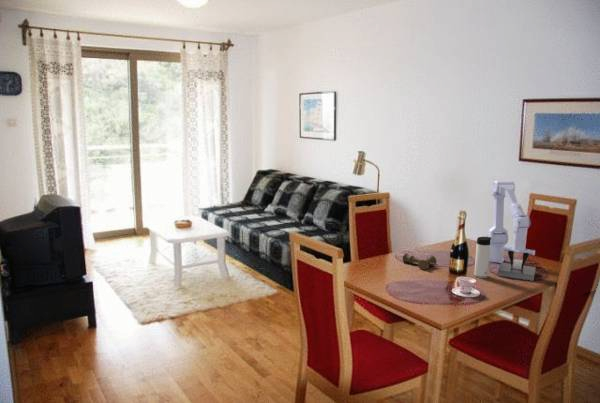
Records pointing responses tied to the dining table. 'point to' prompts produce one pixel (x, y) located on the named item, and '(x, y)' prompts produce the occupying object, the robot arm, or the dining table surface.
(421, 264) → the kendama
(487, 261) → the travel mug
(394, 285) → the dining table surface
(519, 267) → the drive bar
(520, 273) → the socket plate
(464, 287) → the teacup
